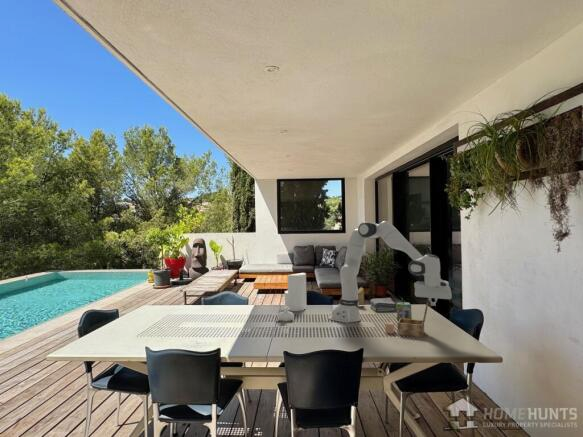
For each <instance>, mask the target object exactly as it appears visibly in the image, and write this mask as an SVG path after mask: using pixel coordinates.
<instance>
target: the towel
mask: <svg viewBox="0 0 583 437" xmlns="http://www.w3.org/2000/svg"><path fill="white" fill-rule="evenodd" d="M369 303H370V304H369V306H370V305H371V306H370V308H371V309H372V310H374V312H397V306H396V302H394V301H393V299H392V298H391V297H382V298H381V297H380V298H372V299H370V301H369Z"/></svg>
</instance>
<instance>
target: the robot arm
mask: <svg viewBox="0 0 583 437" xmlns="http://www.w3.org/2000/svg"><path fill="white" fill-rule="evenodd" d="M379 238H382V240H383V241H384V243H385V244H386V245H387V246H388V247H389V248H391V249H394V250H397V251H401V252H404V253H406V254H407V255H408V257H409V258H411V259H412V260H411V261H410V262H409V263H408V266H407V267H408V271H409V273H410V274H412V275H413V276H423V277H424V281H419V280H417V281H415V282H414V284H413V287H414V296H415V297H416V298H427V299H428V298H429V301H430V302H429V304H430V306H433V307H434V306H435V307H436V303H437V302H438V299H440V300H451V299H452V297H453V296H452V290H451V287H450V283H449V281H447V280H443V279H442V278H441V261H440V258H439V256H437V255H435V254H429V253H426V254H424V255H423V254H422V253H421V252H420V251H419V250H418V249H417V248H416V247H415V246H414V245H413V244H412V243H411V242H409V241H408V240H407V239H406V238H405V237H404V235H403V234H402V233H401V232H400V231H399V230H398V229H397V228H396V227H395V226H394V225H393V224H392V223H390V222H389V221H388V220H383V221H381V222H380V223H377V222H373V221H370V222H369V221H363V222H361V223H360V224H359V225H358V228H356V229H353V230H352V232H351V234H350V237H349V240H348V243H347V247H346V252H345V258H344V262H343V263H344V264H343V265H342V266H341V268H340V270H339V276H340V284H341V297H340V299H339V301H338V302H339V304H337V305H336V306H335V307H334V308H333V309H332V310H331V314H330V315H329V316H328V318H327V319H328V320H330V321H335V322H342V323H346V324H347V323H356V322H359V321H361V318H362V317H361V315H360V310H359V309H360V307H359V299H358V290H359V287H358V279H357V276H358V275H359V272H360V267H361V262H362V258H363V252H364V250H365V249H364V248H365V244H366V241H367V240H374V239H375V240H377V239H379ZM432 299H434V301H433V300H432Z"/></svg>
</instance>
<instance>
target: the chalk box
mask: <svg viewBox="0 0 583 437" xmlns="http://www.w3.org/2000/svg"><path fill="white" fill-rule="evenodd" d="M400 299H401V301H396V302H395V303H396V306H397V311H396V319H397V322H398V321H399V319H400V318H404V319H412V317H413V316H412V314H413V313H412V304H411V303H410V302H409V301H408V302H404V300H403V297H401V298H400Z"/></svg>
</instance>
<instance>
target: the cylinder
mask: <svg viewBox="0 0 583 437" xmlns="http://www.w3.org/2000/svg"><path fill="white" fill-rule="evenodd" d="M284 306H288V307H289V308H290V309H289V310H288V311H289V312H291V311H292V312H299V311H300V310H301V311H304V309H305V310H306V309H307V306H308V305H307V273H306V272H300V273H299V272H298V273H292V274H288V275H287V290H284Z"/></svg>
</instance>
